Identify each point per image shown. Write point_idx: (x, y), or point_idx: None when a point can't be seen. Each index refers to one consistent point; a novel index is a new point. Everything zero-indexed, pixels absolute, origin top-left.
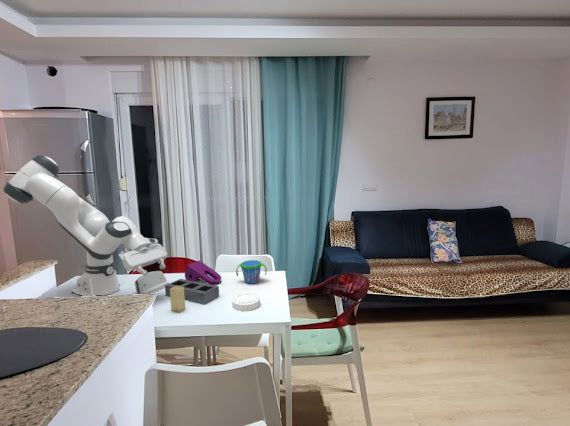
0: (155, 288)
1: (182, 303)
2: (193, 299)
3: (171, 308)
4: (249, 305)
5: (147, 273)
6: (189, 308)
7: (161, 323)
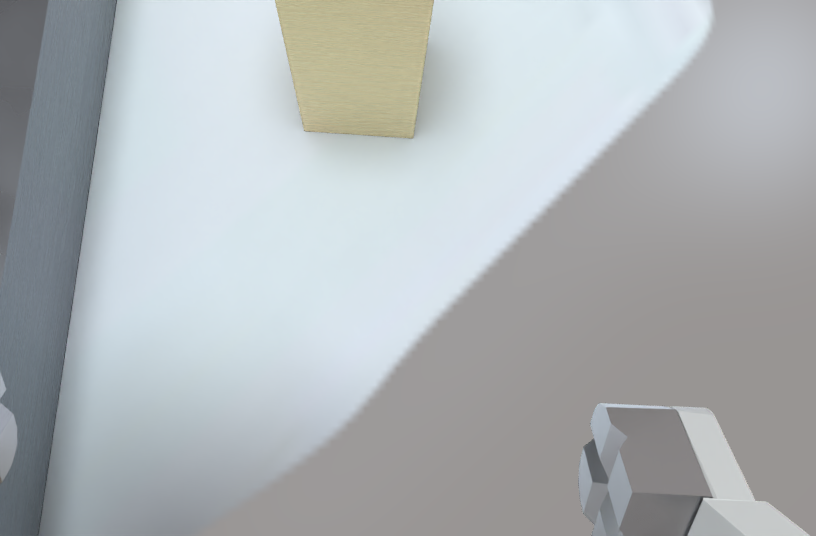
0: None
1: None
2: (94, 56)
3: (414, 121)
4: None
5: (614, 407)
6: None
7: (672, 35)
